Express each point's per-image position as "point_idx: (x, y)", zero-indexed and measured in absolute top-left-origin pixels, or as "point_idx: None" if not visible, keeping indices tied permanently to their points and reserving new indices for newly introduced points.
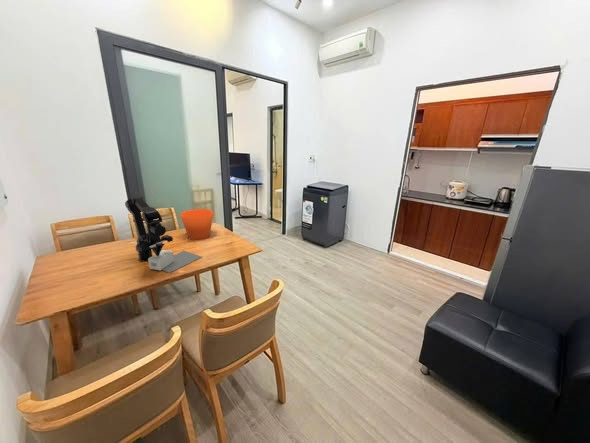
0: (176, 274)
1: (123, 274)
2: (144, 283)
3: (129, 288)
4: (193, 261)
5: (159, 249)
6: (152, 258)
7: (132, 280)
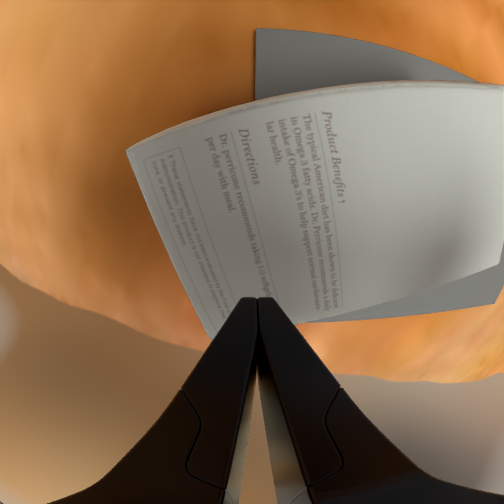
0: None
1: (31, 36)
2: (77, 288)
3: (16, 264)
4: (447, 307)
5: (276, 495)
6: (174, 233)
7: (32, 187)
